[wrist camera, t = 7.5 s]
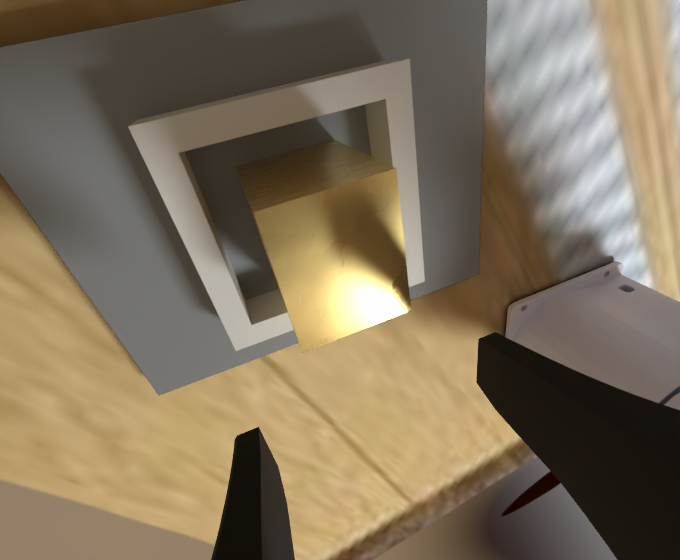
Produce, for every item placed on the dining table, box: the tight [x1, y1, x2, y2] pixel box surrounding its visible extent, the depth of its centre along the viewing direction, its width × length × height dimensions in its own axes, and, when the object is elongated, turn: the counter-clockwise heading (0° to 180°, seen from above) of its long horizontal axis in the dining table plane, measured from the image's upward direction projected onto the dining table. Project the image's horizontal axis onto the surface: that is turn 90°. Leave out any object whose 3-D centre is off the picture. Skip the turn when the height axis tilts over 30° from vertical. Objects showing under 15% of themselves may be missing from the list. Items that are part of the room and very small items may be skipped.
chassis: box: [0, 0, 487, 395], centre depth 15 cm, size 18×14×3 cm
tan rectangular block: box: [235, 139, 411, 353], centre depth 13 cm, size 4×5×6 cm
